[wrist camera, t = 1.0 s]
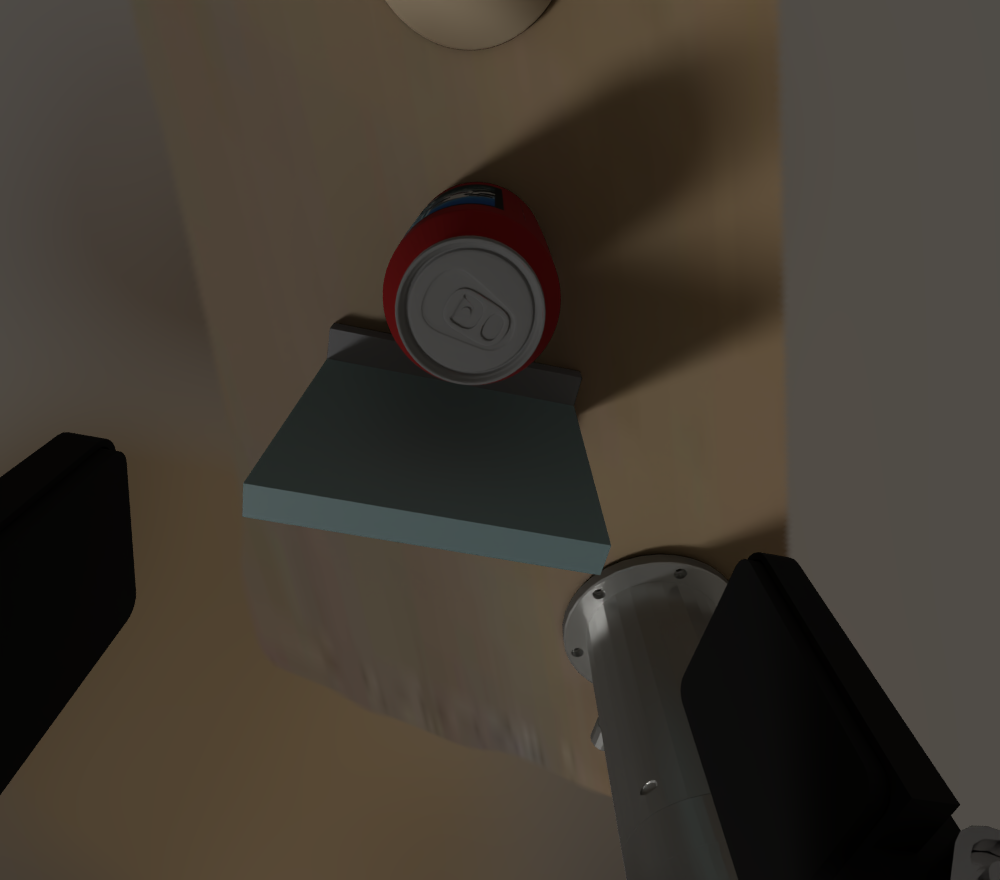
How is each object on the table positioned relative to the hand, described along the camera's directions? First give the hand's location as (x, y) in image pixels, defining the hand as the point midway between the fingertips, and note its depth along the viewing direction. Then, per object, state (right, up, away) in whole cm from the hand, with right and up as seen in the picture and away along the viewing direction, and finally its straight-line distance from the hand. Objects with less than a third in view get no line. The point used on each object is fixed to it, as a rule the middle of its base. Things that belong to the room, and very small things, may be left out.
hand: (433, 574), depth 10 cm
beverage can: (0, +12, +23) cm, 26 cm away
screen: (-2, +5, +27) cm, 27 cm away
